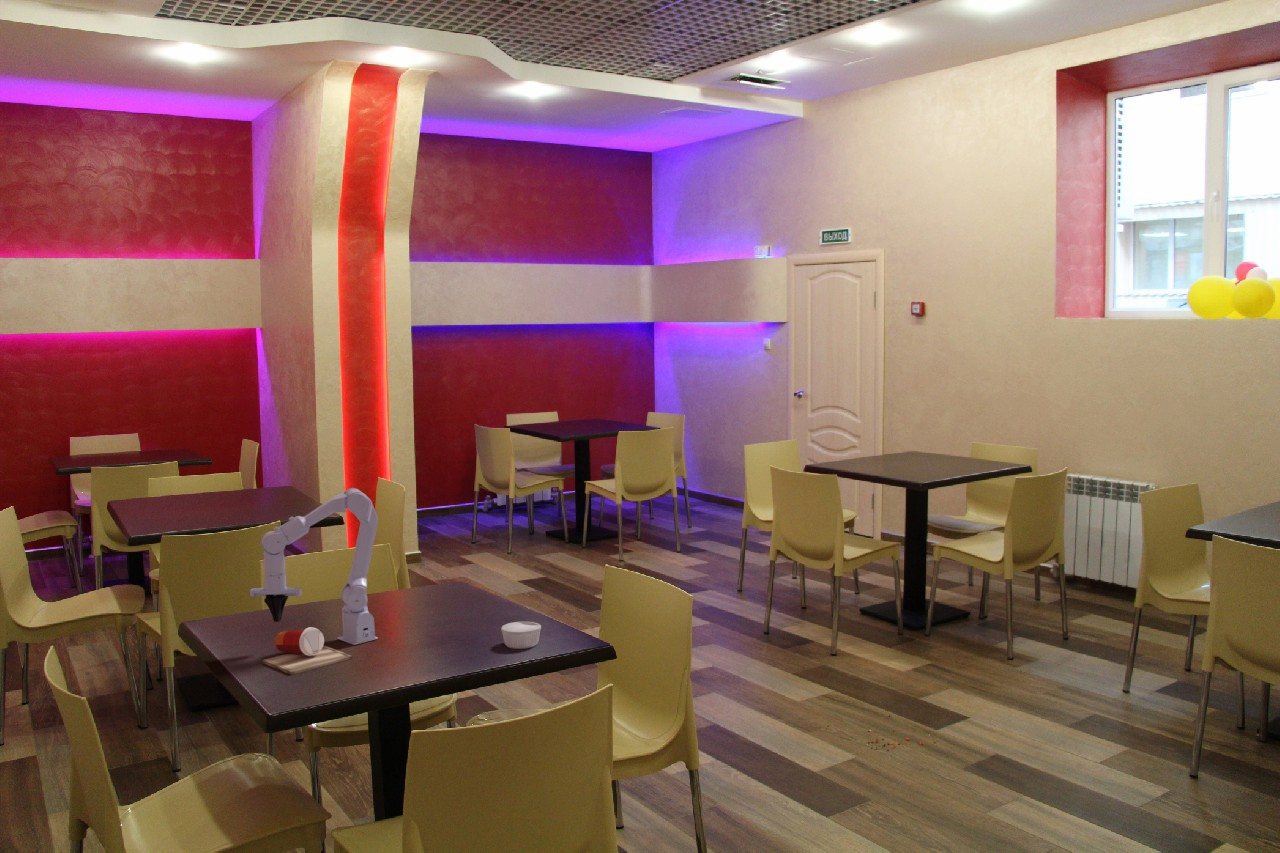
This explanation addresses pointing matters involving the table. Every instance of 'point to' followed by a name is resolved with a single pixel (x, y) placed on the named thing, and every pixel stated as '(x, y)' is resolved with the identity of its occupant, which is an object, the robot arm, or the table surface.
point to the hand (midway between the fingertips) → (277, 620)
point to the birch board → (306, 660)
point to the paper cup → (300, 641)
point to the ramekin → (521, 634)
